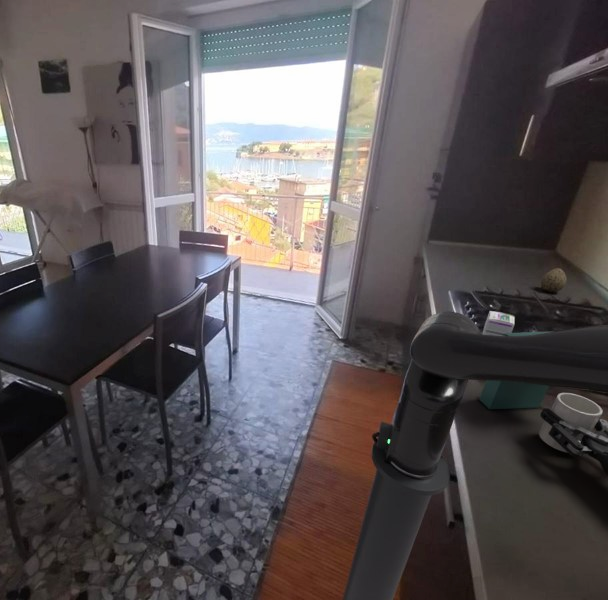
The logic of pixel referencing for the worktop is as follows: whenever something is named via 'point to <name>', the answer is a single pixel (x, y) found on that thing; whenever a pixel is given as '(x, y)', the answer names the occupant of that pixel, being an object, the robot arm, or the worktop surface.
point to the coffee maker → (513, 390)
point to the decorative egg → (553, 280)
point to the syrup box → (498, 324)
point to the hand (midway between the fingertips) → (560, 411)
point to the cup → (572, 416)
